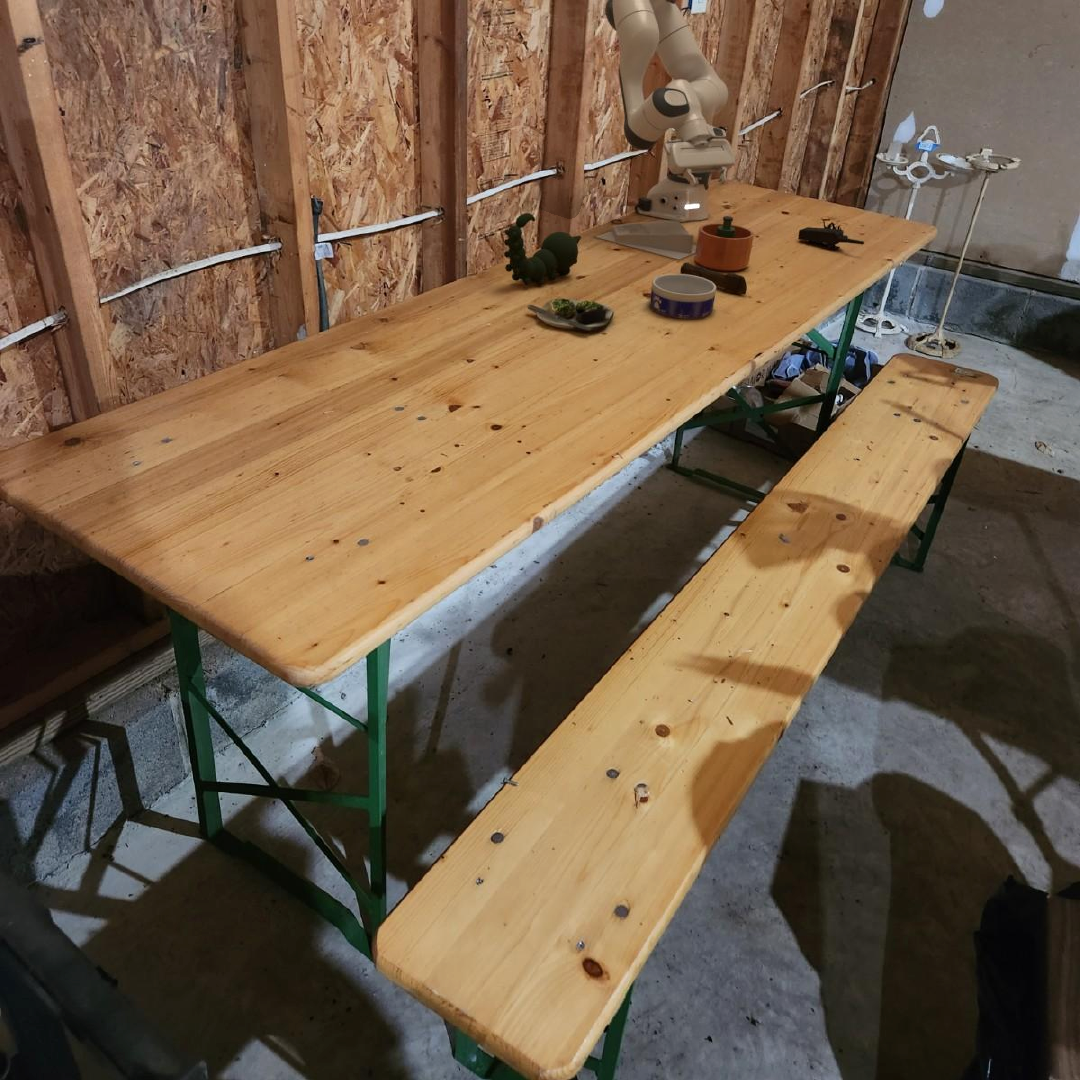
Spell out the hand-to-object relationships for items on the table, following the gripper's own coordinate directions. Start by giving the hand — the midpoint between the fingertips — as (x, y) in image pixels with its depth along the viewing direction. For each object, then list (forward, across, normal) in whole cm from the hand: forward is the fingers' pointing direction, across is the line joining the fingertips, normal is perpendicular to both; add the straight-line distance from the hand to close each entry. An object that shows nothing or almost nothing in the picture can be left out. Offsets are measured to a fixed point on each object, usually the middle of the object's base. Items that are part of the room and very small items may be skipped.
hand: (709, 184), depth 252 cm
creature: (+13, +51, +14) cm, 54 cm away
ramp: (+5, -9, +21) cm, 24 cm away
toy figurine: (+18, -54, +8) cm, 58 cm away
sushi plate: (+38, -59, -11) cm, 71 cm away
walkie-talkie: (+20, +41, +7) cm, 46 cm away
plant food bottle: (+20, -1, +4) cm, 21 cm away
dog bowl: (+38, -31, -12) cm, 51 cm away
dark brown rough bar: (+31, -13, -5) cm, 34 cm away
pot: (+21, -1, +5) cm, 22 cm away
